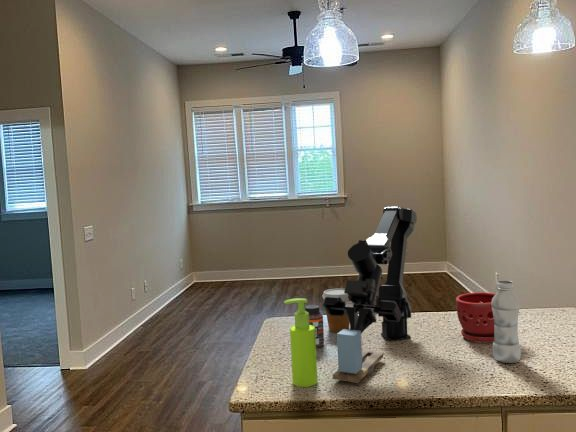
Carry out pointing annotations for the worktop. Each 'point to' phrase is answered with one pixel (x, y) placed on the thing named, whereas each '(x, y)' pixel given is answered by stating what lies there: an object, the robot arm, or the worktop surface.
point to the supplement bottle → (316, 323)
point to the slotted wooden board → (366, 367)
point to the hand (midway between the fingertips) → (353, 339)
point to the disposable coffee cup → (336, 321)
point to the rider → (349, 351)
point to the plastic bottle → (505, 323)
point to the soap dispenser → (303, 347)
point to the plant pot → (476, 316)
